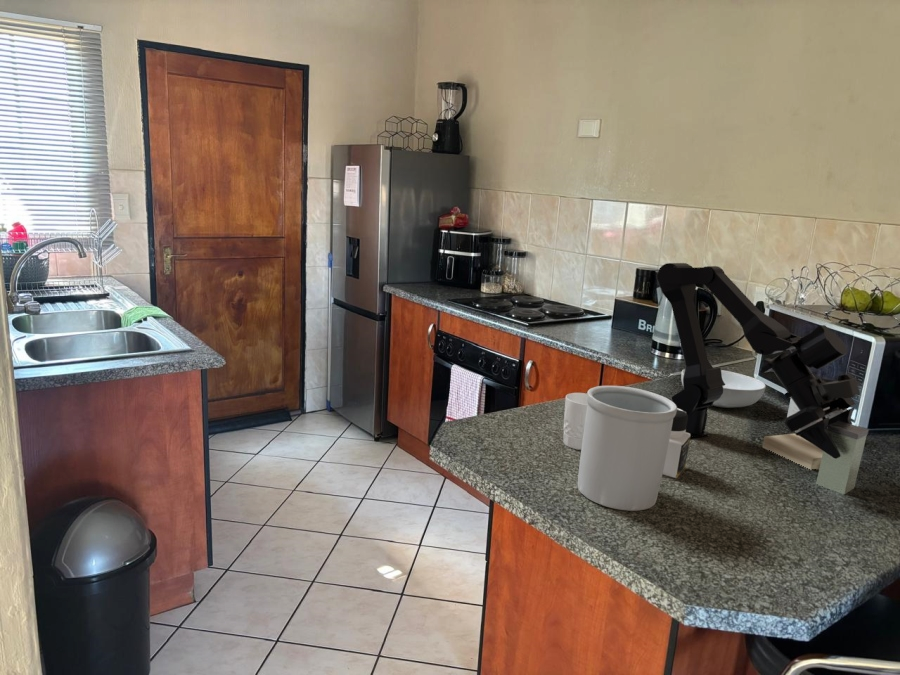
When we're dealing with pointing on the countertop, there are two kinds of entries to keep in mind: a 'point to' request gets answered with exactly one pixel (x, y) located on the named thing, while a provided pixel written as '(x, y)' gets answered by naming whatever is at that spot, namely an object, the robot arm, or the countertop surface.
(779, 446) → the wooden block
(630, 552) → the countertop surface
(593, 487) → the utensil holder
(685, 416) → the medicine bottle
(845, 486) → the tea tin
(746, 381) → the serving bowl
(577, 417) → the white cup
